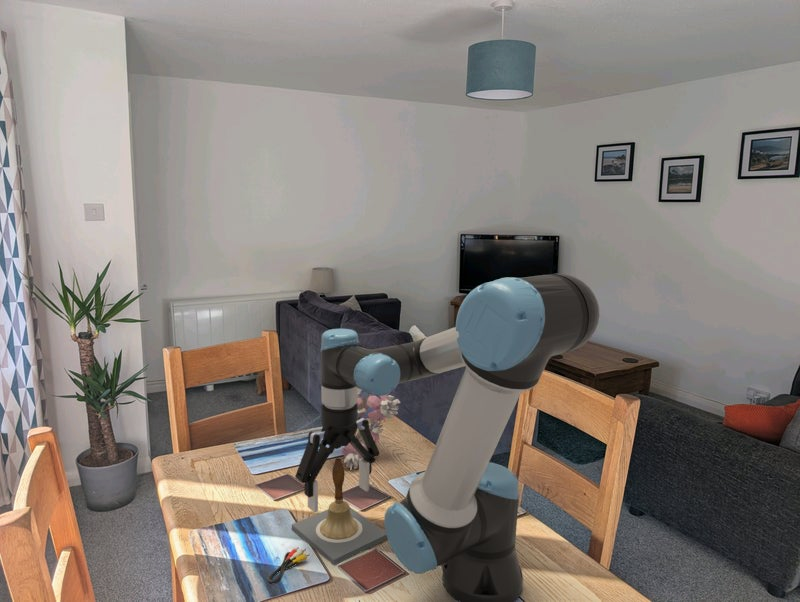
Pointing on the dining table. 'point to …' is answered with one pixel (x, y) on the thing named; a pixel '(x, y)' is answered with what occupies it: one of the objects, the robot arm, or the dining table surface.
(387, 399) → the flower
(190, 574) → the dining table surface
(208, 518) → the dining table surface
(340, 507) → the hand bell
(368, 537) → the board
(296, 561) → the composite cable
